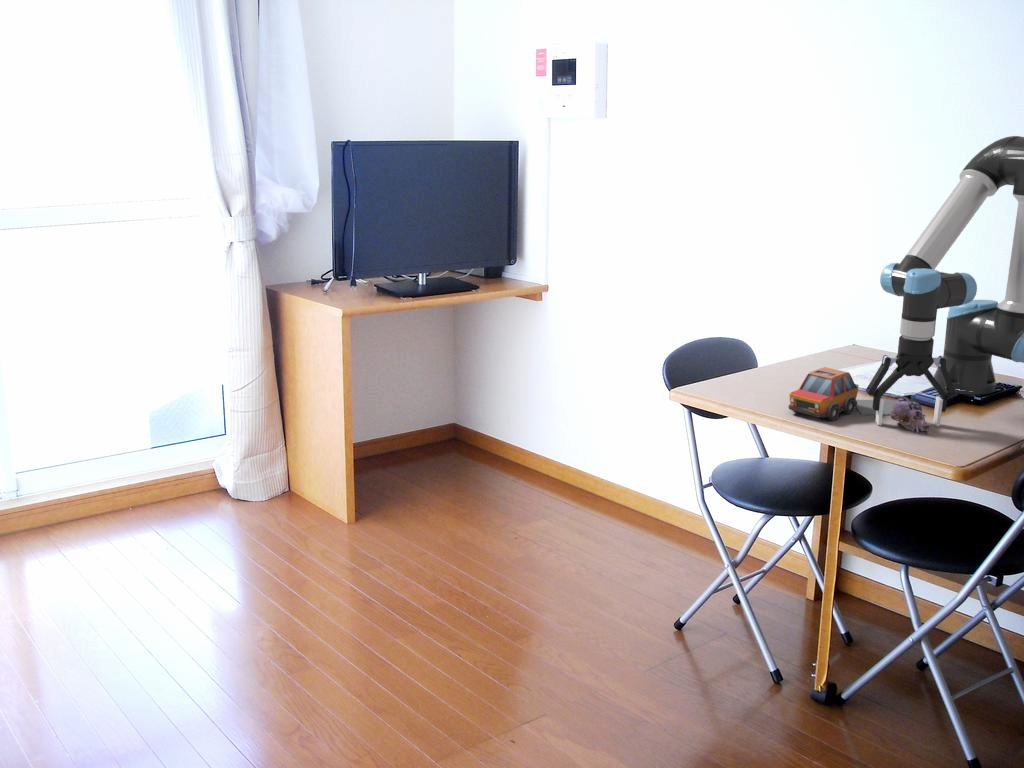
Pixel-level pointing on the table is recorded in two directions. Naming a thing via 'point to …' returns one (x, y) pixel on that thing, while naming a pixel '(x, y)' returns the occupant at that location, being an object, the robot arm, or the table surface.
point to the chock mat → (867, 407)
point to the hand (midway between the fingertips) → (907, 424)
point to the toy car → (825, 394)
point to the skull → (909, 414)
